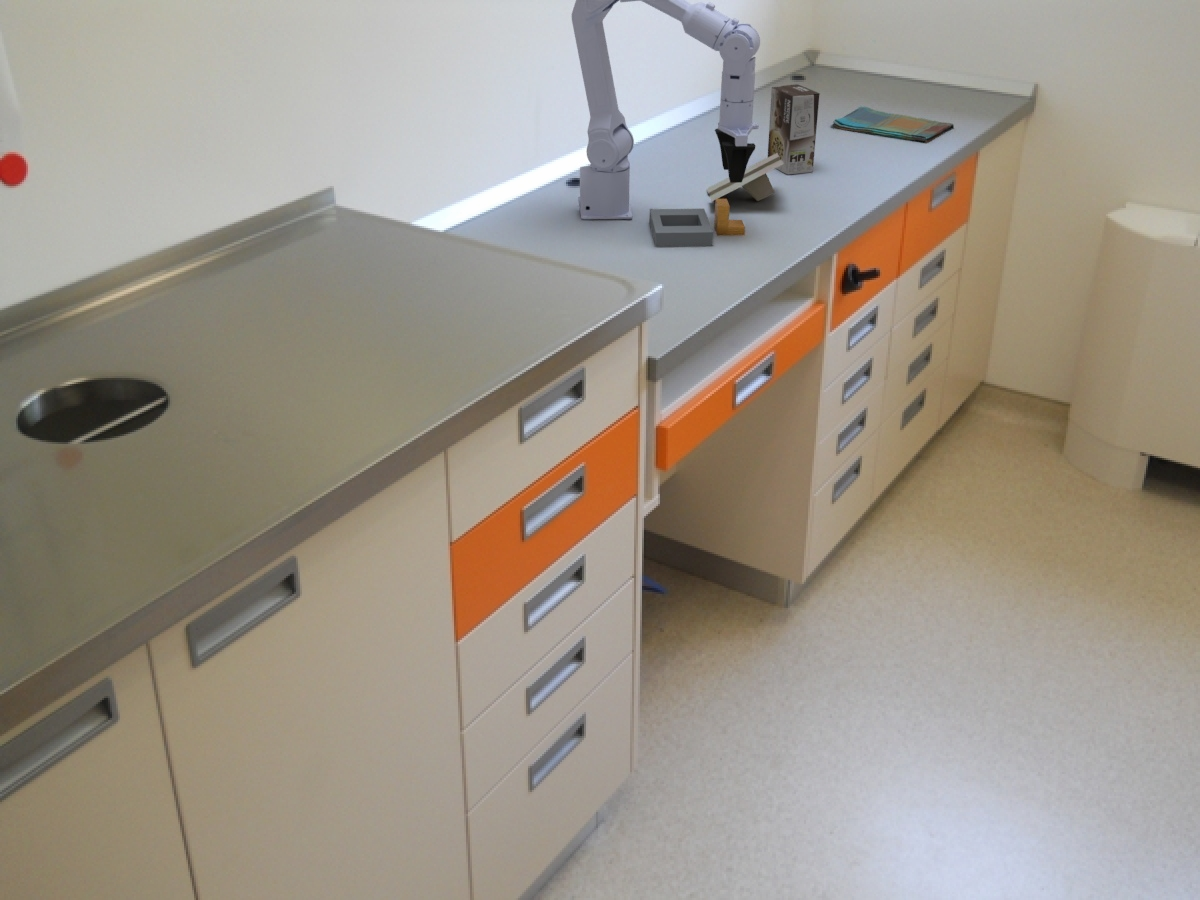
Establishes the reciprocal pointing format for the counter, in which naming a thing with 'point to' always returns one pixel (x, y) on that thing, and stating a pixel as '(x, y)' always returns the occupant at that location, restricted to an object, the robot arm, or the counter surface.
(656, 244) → the well block
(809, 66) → the counter surface
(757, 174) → the beige footed plank
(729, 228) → the wooden step block
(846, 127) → the dish towel
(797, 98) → the coffee box
